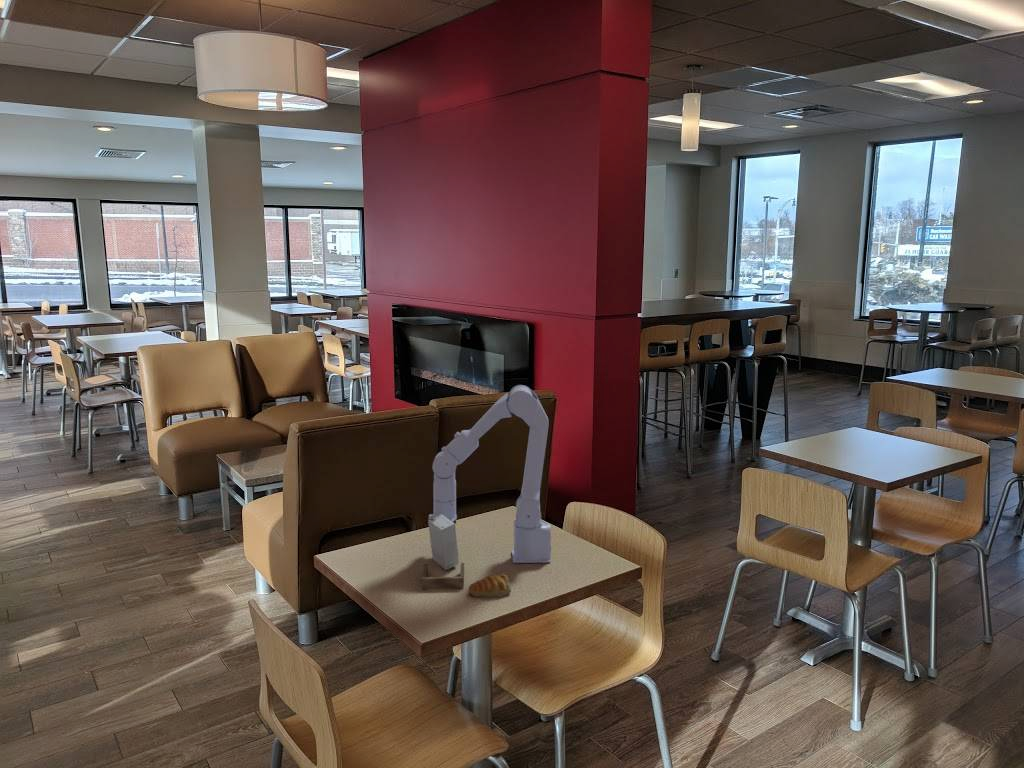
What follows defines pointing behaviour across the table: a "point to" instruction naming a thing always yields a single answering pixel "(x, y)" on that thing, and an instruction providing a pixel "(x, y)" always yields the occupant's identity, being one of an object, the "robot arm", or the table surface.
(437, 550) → the skincare box
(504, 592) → the pastry
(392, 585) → the table surface
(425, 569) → the bottle holder
